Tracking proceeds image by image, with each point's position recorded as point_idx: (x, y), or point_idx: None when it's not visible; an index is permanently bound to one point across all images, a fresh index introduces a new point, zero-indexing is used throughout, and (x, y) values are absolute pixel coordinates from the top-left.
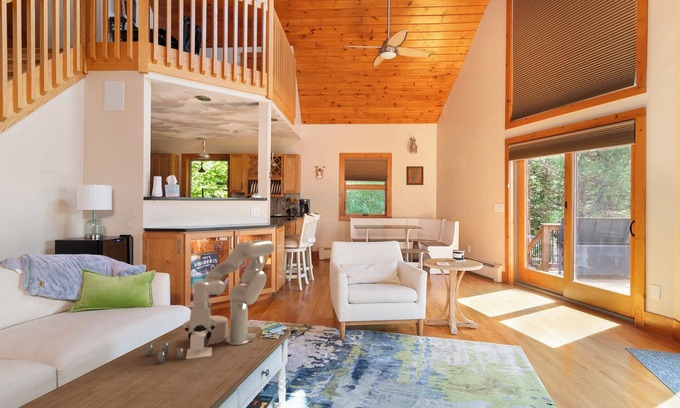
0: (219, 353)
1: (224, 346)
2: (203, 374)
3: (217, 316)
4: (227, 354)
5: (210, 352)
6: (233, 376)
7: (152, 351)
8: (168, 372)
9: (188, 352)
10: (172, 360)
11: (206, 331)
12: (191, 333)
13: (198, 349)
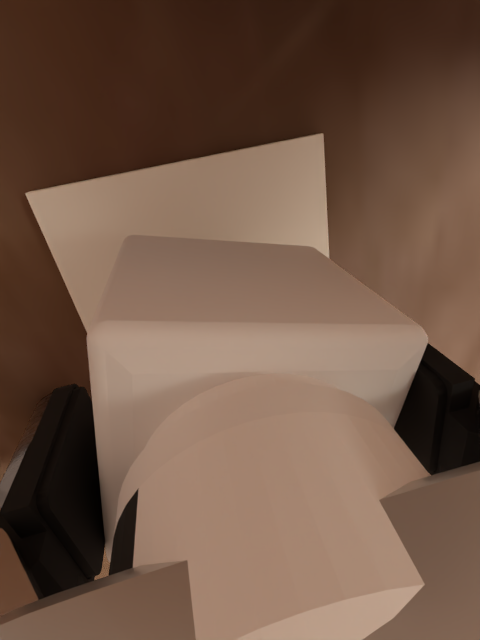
0: (391, 294)
1: (456, 78)
2: None
3: None
4: (450, 316)
5: None
6: None
7: None
8: (105, 574)
9: (88, 301)
10: (14, 440)
11: (386, 389)
12: (57, 465)
13: (172, 209)
